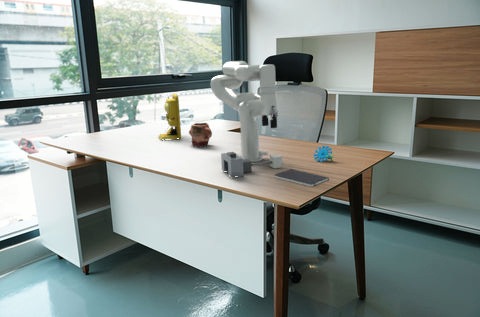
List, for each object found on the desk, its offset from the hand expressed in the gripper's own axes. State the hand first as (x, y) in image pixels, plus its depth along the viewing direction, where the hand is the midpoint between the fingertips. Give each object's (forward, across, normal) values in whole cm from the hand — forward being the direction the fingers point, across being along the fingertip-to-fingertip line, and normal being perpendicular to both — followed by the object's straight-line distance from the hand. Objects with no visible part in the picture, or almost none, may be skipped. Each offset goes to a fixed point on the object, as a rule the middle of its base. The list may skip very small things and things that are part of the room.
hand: (269, 126), depth 190 cm
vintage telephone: (+16, -102, -31) cm, 108 cm away
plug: (+20, +1, -7) cm, 21 cm away
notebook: (+22, +22, +4) cm, 31 cm away
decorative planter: (+17, -65, -18) cm, 70 cm away
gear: (+21, +1, +30) cm, 36 cm away
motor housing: (+20, +1, -21) cm, 29 cm away
